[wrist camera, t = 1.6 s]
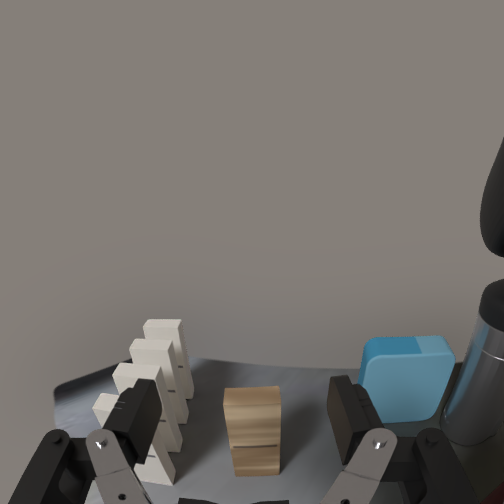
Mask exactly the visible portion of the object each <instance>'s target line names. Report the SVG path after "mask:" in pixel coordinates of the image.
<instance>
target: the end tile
mask: <svg viewBox="0 0 504 504" xmlns="http://www.w3.org/2000/svg"><path fill="white" fill-rule="evenodd" d="M143 329H144V334H145V338H146V339H159V340H172V341H173V346H174V351H175V356H176V360H177V365H178V369H179V374H180V378H181V382H182V387H183V391H184V395H185V399H192V398H193V394H194V390H195V389H194V385H193V380H192V375H191V370H190V365H189V360H188V354H187V349H186V344H185V338H184V332H183V326H182V320H181V319H175V320H174V319H172V320H171V319H164V320H163V319H148V320H147V322H146V323H145V325H144V326H143Z"/></svg>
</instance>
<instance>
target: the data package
mask: <svg viewBox="0 0 504 504" xmlns="http://www.w3.org/2000/svg"><path fill="white" fill-rule="evenodd" d="M455 360H456V359H455V355H454V353H453V352H452V350H451V348H450V346H449V345H448V343H447V341H446V340H445V338H444V337H442V336H417V337H376V338H372V339H370V340H369V341H368V342H367V343H366V344H365V346H364V351H363V356H362V362H361V368H360V373H359V378H358V383H357V384H360V385H361V386H362V387H363V388H365V389H366V390H367V392H368V394H369V396H370V399H371V401H372V403H373V406H374V407H375V409H376V411H377V413H378V415H379V417H380V419H381V422H382V423H399V422H412V421H422V420H426V419H429V418H430V417H432V416H433V415H434V414H435V412H436V410H437V408H438V405H439V403H440V401H441V398H442V396H443V393H444V391H445V388H446V386H447V383H448V381H449V378H450V375H451V373H452V370H453V367H454V364H455Z"/></svg>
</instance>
